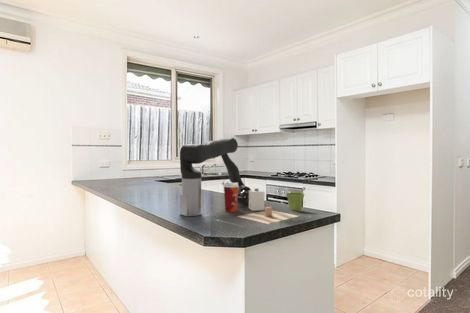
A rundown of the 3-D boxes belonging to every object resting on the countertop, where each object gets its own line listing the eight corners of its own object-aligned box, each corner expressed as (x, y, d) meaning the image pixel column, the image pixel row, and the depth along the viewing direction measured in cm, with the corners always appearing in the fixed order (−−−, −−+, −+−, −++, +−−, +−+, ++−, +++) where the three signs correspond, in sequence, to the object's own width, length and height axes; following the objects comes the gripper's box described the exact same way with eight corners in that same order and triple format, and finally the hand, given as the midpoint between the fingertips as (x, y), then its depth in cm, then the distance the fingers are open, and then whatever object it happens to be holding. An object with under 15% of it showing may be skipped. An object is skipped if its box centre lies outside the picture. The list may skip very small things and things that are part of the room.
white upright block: (252, 212, 141) (252, 189, 141) (248, 209, 147) (248, 188, 147) (264, 211, 143) (264, 189, 142) (260, 209, 149) (260, 187, 149)
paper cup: (237, 213, 137) (237, 184, 137) (221, 213, 138) (221, 184, 138) (240, 210, 144) (240, 183, 144) (225, 210, 146) (225, 182, 146)
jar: (268, 217, 126) (268, 208, 126) (263, 216, 129) (263, 207, 129) (273, 216, 128) (273, 207, 128) (268, 215, 131) (268, 206, 131)
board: (267, 225, 114) (267, 223, 114) (237, 218, 128) (237, 216, 128) (299, 217, 129) (299, 215, 129) (269, 211, 143) (269, 210, 143)
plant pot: (297, 213, 139) (297, 195, 139) (282, 210, 146) (282, 193, 146) (308, 210, 145) (308, 193, 145) (293, 208, 152) (293, 192, 152)
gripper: (232, 186, 169) (238, 189, 153) (255, 185, 172) (263, 188, 156) (232, 198, 169) (238, 203, 153) (255, 198, 172) (263, 202, 156)
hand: (251, 196), depth 155 cm, fingers open, 8 cm apart
